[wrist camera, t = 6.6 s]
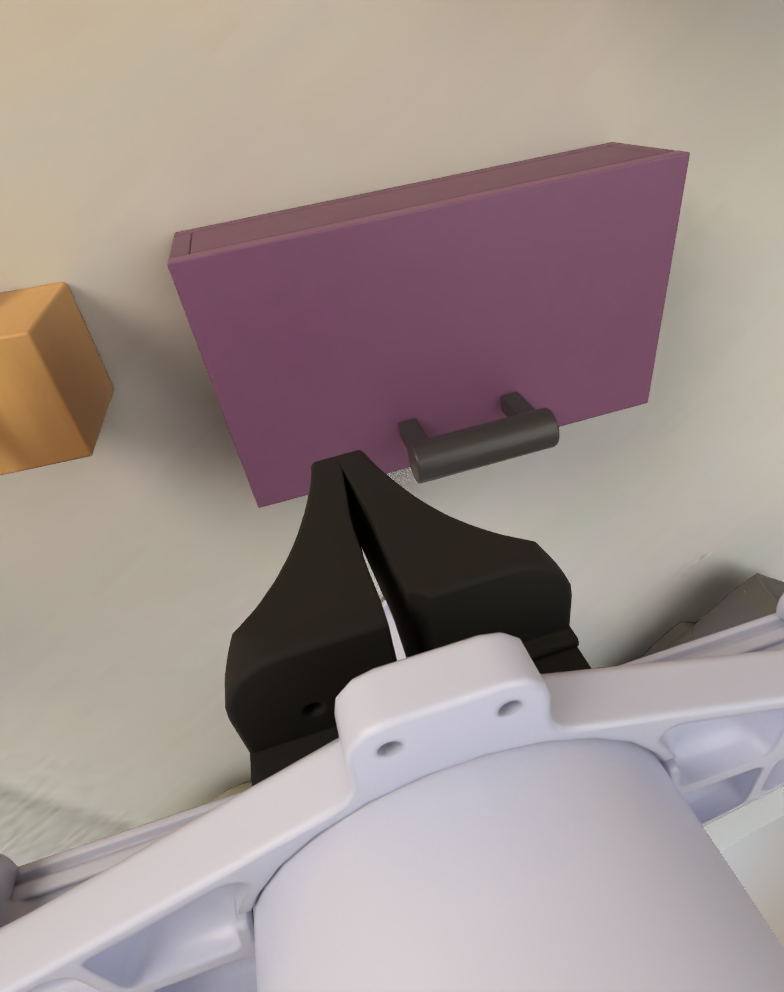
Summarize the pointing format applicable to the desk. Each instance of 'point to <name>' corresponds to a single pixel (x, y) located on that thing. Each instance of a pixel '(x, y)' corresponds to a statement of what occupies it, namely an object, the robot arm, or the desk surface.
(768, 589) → the bluetooth speaker
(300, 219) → the box
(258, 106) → the desk surface
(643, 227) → the lid
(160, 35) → the desk surface
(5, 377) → the block
